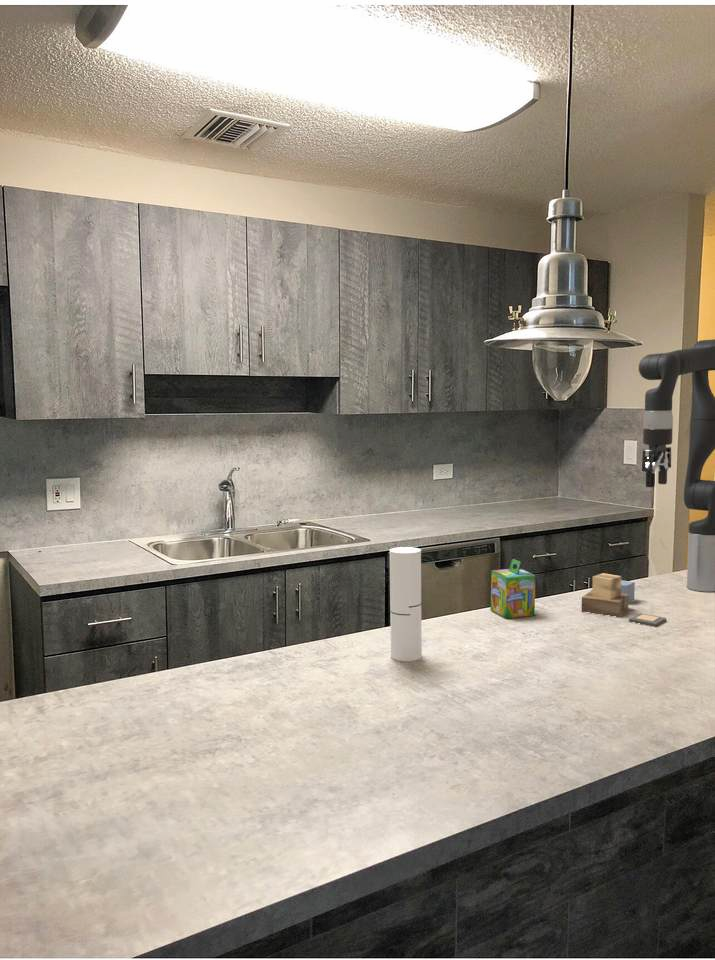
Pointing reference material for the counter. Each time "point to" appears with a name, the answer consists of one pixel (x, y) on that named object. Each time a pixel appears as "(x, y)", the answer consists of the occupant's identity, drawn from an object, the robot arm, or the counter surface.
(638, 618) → the tile
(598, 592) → the oak block
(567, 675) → the counter surface
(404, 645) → the cylindrical container
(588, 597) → the base block
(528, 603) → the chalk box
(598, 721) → the counter surface
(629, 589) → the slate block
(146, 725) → the counter surface
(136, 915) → the counter surface
